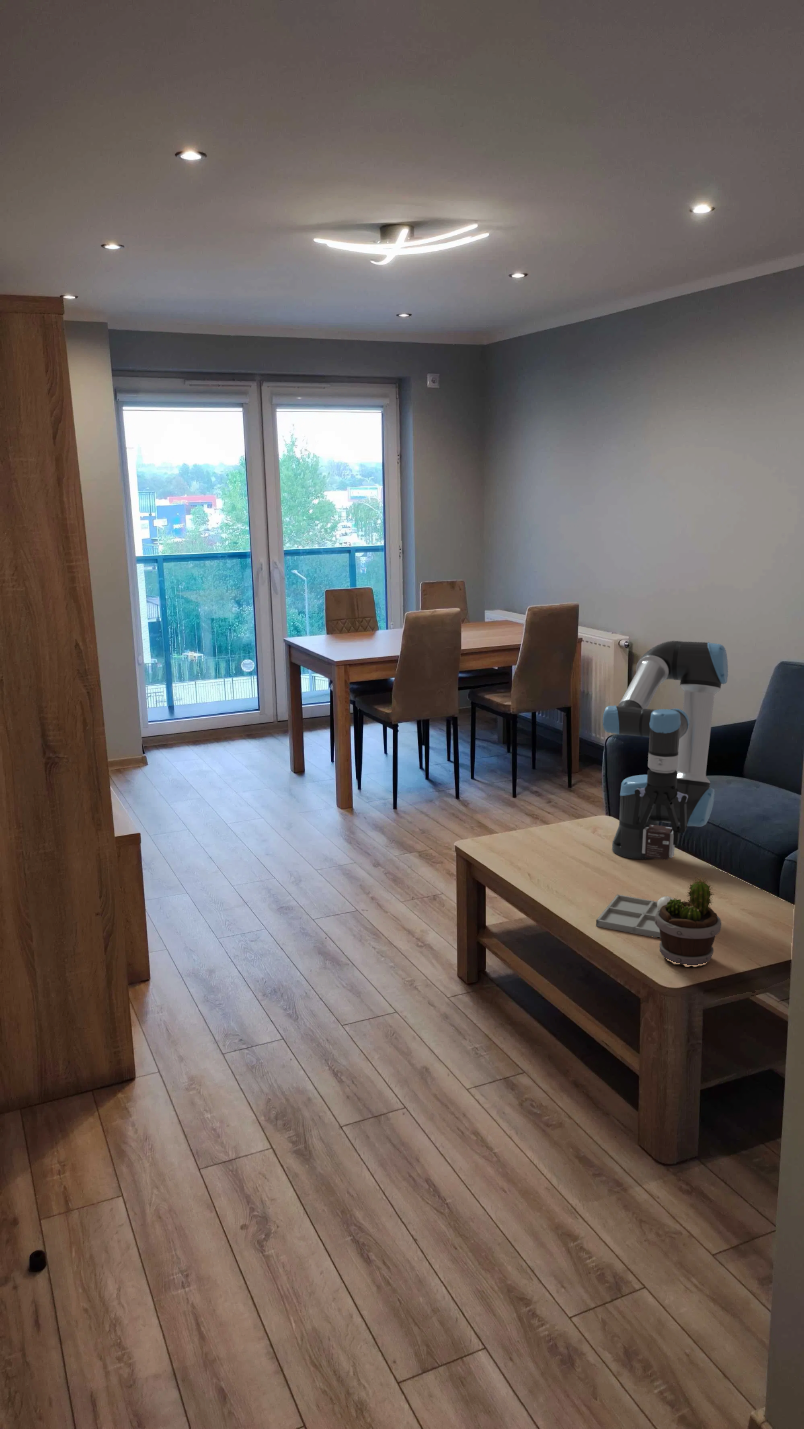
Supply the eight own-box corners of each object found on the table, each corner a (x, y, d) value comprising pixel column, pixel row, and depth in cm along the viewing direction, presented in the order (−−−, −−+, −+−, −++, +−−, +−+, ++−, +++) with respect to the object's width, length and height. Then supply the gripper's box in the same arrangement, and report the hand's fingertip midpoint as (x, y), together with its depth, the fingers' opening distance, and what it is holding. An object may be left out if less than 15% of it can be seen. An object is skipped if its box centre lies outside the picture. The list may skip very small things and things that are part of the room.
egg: (659, 909, 260) (659, 892, 260) (677, 912, 258) (678, 895, 257) (654, 916, 256) (655, 898, 255) (673, 919, 254) (674, 901, 253)
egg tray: (617, 900, 268) (617, 894, 268) (689, 913, 259) (690, 907, 259) (596, 926, 252) (596, 920, 251) (672, 941, 243) (673, 934, 243)
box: (644, 857, 265) (645, 830, 263) (648, 850, 270) (649, 824, 269) (668, 860, 262) (669, 833, 261) (671, 853, 268) (672, 826, 266)
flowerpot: (681, 978, 224) (686, 893, 220) (639, 951, 237) (643, 870, 233) (733, 967, 229) (739, 884, 225) (689, 940, 243) (694, 862, 239)
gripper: (621, 768, 263) (618, 852, 267) (697, 777, 254) (692, 864, 259) (629, 761, 269) (625, 844, 274) (703, 770, 260) (698, 855, 265)
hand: (658, 853), depth 266 cm, fingers closed on box, 6 cm apart
